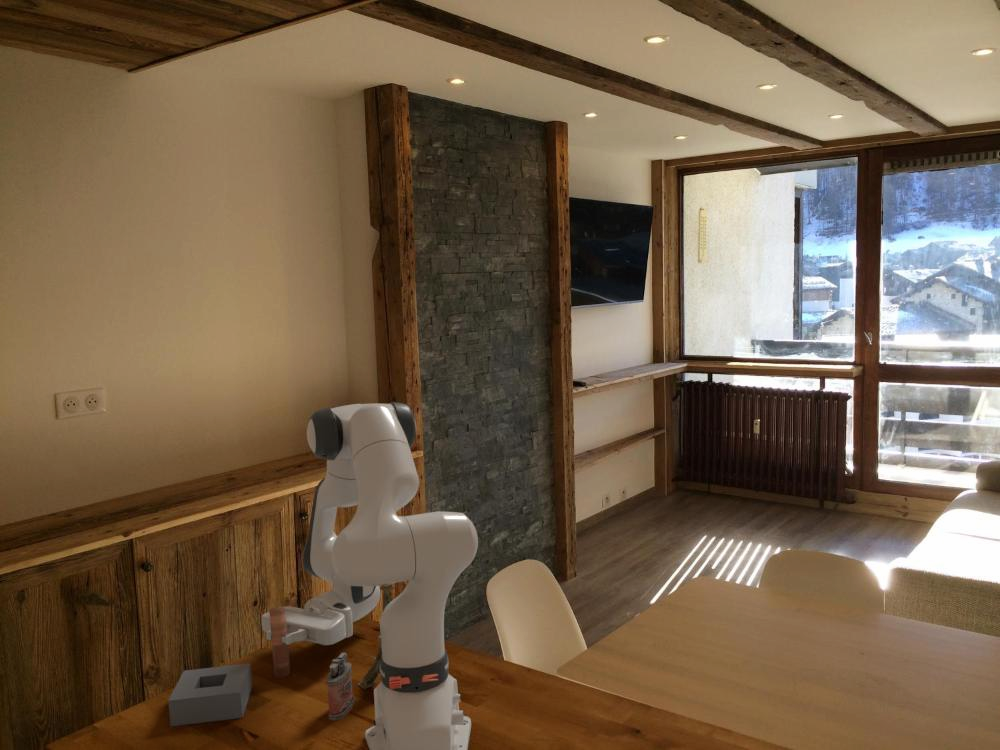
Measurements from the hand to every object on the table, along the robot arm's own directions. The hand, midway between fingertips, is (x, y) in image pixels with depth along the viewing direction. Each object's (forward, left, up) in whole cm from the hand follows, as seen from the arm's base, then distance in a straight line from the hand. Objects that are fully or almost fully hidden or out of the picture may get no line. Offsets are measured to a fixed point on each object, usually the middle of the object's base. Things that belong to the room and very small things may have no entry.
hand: (276, 638), depth 176 cm
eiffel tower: (-10, -24, -8) cm, 27 cm away
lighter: (-18, -14, -8) cm, 24 cm away
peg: (+1, -1, -8) cm, 8 cm away
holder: (-10, +11, -8) cm, 17 cm away
